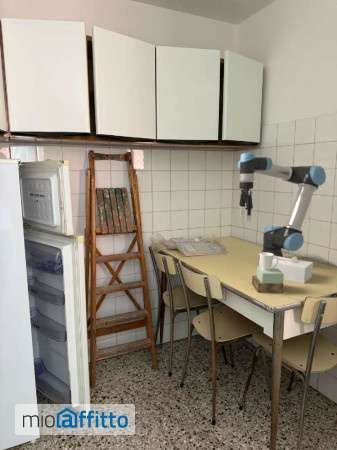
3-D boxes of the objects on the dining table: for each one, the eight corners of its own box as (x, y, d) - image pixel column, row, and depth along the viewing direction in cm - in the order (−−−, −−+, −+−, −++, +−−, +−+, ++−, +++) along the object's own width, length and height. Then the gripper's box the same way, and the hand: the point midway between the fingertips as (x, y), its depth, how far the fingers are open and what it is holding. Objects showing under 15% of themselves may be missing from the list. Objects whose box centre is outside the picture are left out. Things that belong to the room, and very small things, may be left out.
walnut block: (274, 285, 160) (275, 275, 159) (282, 293, 148) (283, 283, 148) (251, 284, 160) (252, 275, 160) (257, 293, 149) (258, 283, 148)
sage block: (276, 276, 158) (276, 267, 157) (283, 283, 148) (283, 273, 147) (256, 276, 158) (257, 267, 157) (262, 283, 148) (262, 273, 147)
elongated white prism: (303, 284, 161) (305, 263, 160) (258, 274, 177) (259, 255, 175) (311, 277, 172) (313, 258, 170) (268, 268, 188) (269, 251, 186)
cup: (255, 268, 156) (256, 252, 155) (273, 267, 158) (274, 251, 157) (262, 272, 149) (263, 255, 148) (281, 270, 151) (282, 254, 150)
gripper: (234, 181, 183) (233, 216, 187) (245, 182, 159) (243, 222, 162) (247, 181, 183) (246, 216, 187) (259, 182, 159) (258, 222, 162)
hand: (245, 219), depth 174 cm, fingers open, 13 cm apart
